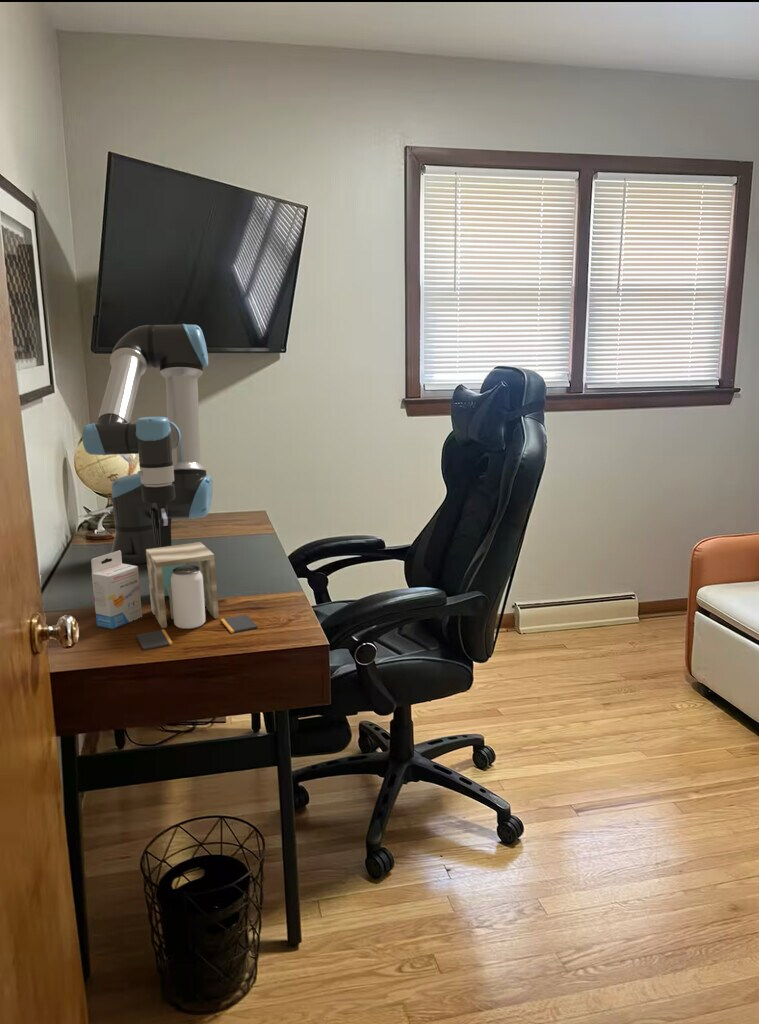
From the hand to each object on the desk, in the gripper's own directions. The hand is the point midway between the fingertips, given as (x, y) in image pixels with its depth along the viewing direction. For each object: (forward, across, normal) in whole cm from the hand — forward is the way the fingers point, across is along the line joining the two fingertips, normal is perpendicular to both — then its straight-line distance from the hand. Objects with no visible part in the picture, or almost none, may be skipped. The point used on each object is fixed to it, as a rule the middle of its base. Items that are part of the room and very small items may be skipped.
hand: (165, 580), depth 179 cm
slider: (+2, +13, 0) cm, 13 cm away
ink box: (+3, +16, -13) cm, 20 cm away
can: (+3, +25, 0) cm, 25 cm away
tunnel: (+3, +18, 0) cm, 18 cm away
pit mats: (+3, +30, 0) cm, 30 cm away
